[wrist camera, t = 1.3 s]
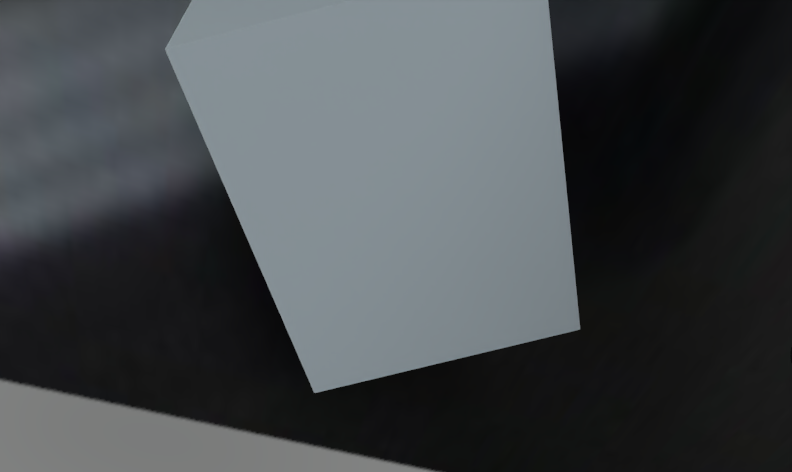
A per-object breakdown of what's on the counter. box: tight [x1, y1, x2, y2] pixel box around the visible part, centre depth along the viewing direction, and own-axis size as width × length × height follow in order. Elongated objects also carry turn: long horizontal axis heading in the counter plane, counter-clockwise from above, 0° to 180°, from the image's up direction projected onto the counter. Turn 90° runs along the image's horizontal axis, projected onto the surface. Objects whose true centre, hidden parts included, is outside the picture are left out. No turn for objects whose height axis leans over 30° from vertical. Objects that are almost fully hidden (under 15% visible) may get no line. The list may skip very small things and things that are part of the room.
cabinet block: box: [165, 0, 580, 393], centre depth 16 cm, size 6×9×8 cm, turn 13°
